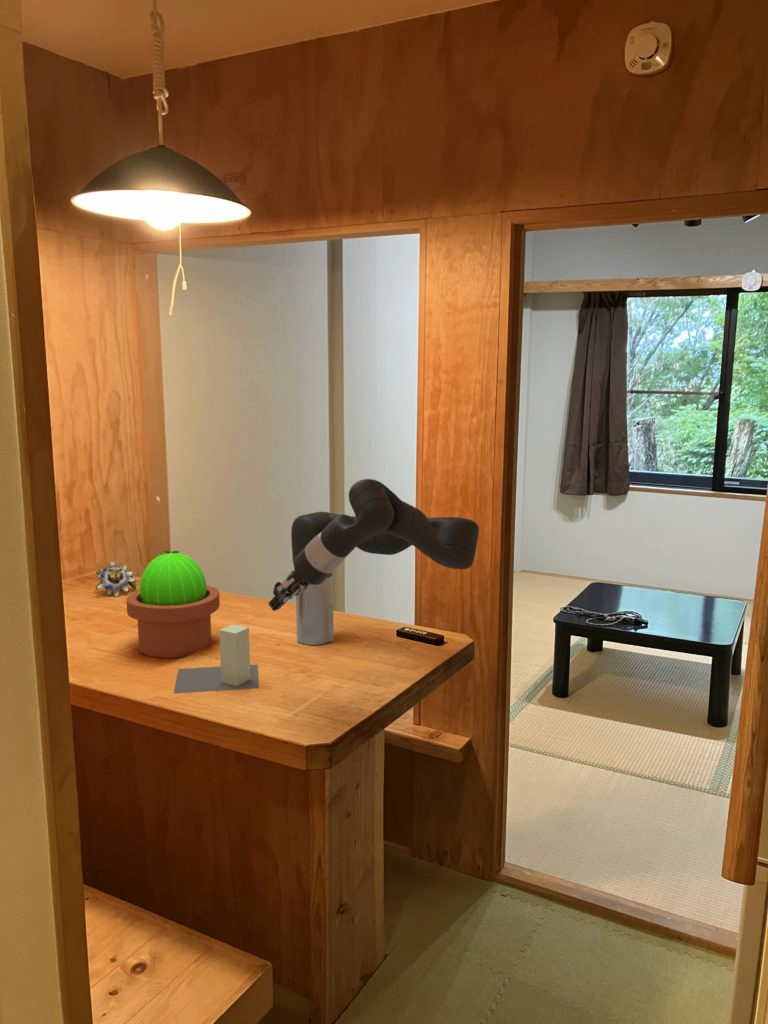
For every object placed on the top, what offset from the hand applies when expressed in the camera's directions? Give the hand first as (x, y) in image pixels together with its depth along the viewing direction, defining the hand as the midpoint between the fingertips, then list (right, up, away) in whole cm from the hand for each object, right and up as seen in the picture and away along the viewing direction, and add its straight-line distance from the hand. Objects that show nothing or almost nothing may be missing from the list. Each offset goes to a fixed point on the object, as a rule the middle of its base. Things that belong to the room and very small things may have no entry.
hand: (273, 606), depth 168 cm
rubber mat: (-14, -18, +10) cm, 25 cm away
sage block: (-10, -18, +9) cm, 22 cm away
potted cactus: (-29, -14, +32) cm, 46 cm away
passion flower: (-60, -5, +79) cm, 99 cm away
